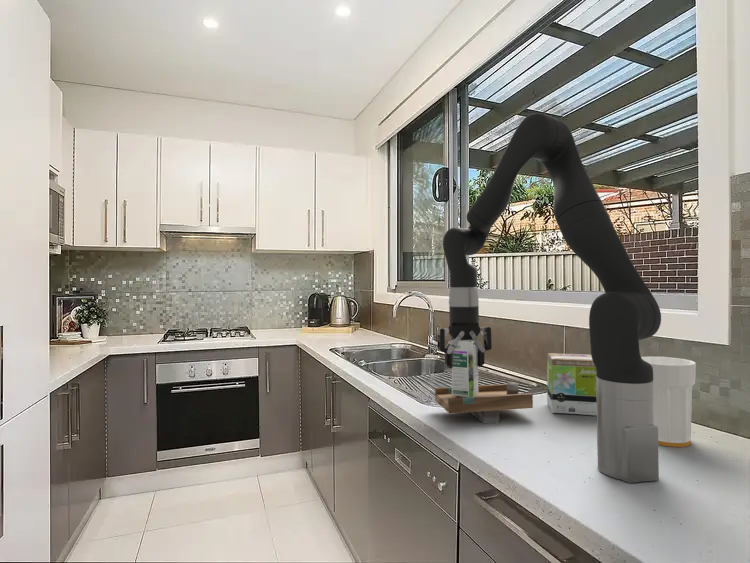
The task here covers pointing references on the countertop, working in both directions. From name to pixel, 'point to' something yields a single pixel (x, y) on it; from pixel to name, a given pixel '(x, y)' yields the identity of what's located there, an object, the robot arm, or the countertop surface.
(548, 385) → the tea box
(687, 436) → the cup
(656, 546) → the countertop surface
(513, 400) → the beam
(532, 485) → the countertop surface
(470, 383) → the syrup box
